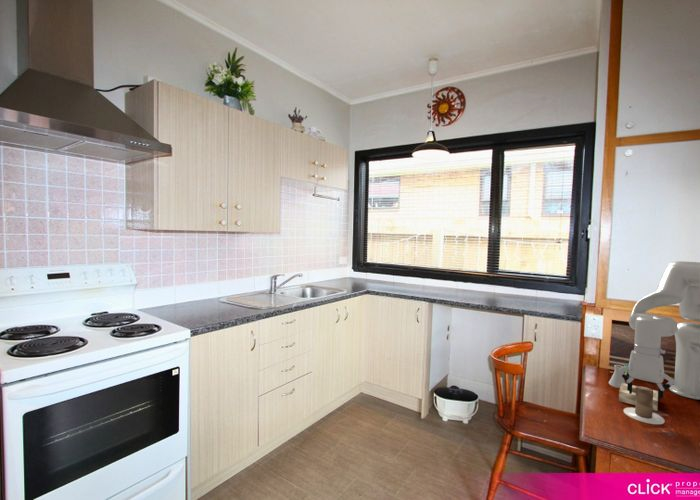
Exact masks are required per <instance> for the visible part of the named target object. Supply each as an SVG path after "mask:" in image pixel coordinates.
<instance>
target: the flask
mask: <svg viewBox="0 0 700 500" xmlns="http://www.w3.org/2000/svg"><path fill="white" fill-rule="evenodd" d="M613 366H614V371H613V374H612V375H611V378H610V379H609V381H608V384H609V385H610V386H611V387H614V388H617V389H620V387H621V383H625V384H627V382H626V380H625V379H624V378H623V377H622V375H621V374H620V373H619V371H618V369H620V368H623V367H624V366H623V365H620V364H614V365H613Z"/></svg>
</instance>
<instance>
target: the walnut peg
mask: <svg viewBox="0 0 700 500" xmlns="http://www.w3.org/2000/svg"><path fill="white" fill-rule="evenodd" d="M637 386H638V385H637ZM653 390H654V389H652V388H649V387H646V386H640V385H639V386H638V387H636V404H635V405H634V406H635V407H634V408H635V414H636V415H638V416H640V417H643V418H649V419H650V418H652V413H654V412H653V411H654V410H653Z"/></svg>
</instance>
